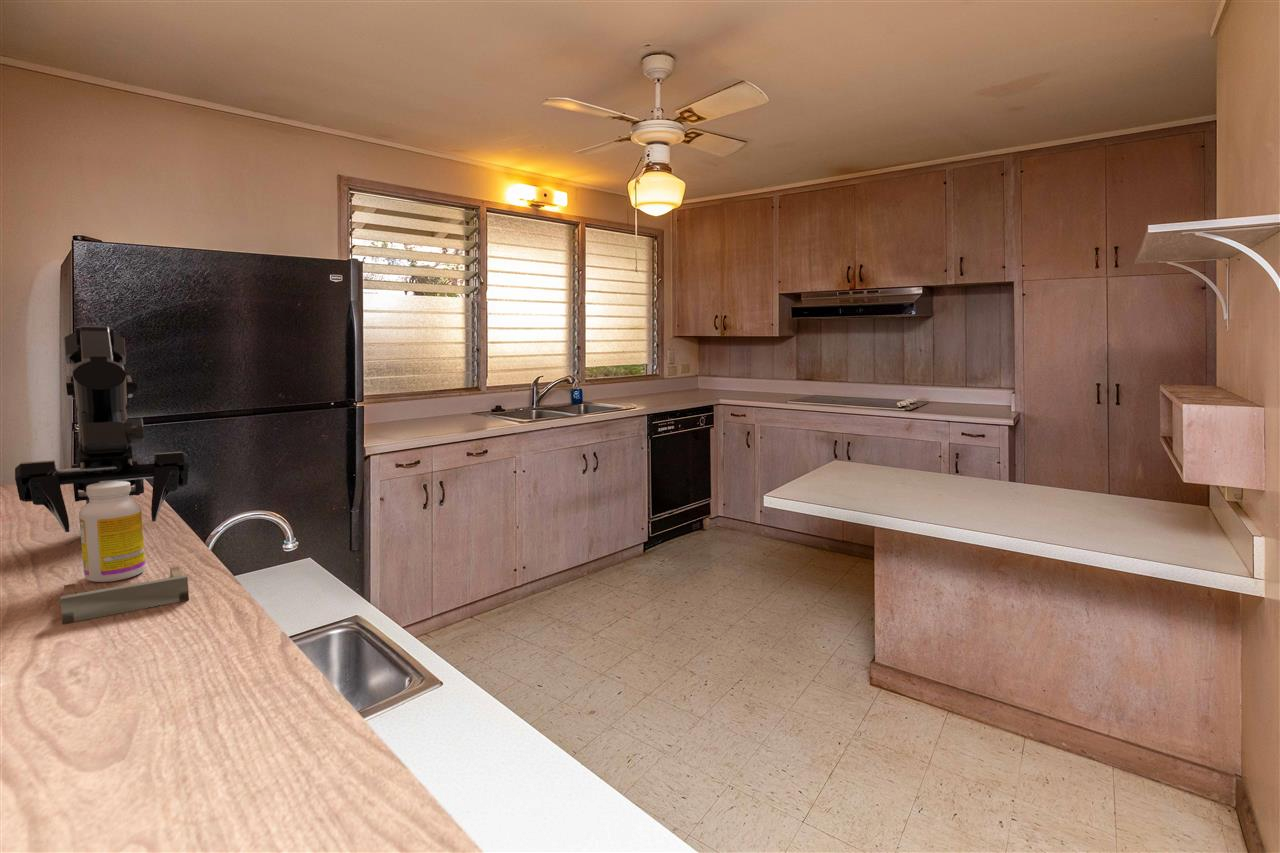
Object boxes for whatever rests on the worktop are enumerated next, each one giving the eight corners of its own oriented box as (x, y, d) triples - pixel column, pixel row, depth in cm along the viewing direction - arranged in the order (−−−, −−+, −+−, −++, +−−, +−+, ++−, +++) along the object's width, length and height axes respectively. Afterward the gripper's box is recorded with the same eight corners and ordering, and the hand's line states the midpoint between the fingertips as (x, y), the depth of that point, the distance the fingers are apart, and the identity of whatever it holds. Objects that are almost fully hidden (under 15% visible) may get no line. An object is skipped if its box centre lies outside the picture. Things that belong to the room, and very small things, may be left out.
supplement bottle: (157, 568, 93) (152, 480, 92) (116, 585, 87) (109, 490, 85) (115, 565, 94) (108, 478, 92) (70, 582, 87) (62, 488, 86)
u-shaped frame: (65, 594, 83) (63, 571, 83) (179, 574, 91) (178, 554, 91) (62, 624, 75) (60, 599, 74) (188, 599, 82) (187, 577, 82)
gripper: (9, 402, 85) (9, 501, 78) (183, 397, 97) (197, 483, 90) (19, 454, 92) (20, 549, 85) (180, 443, 104) (193, 526, 97)
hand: (112, 525), depth 89 cm, fingers open, 9 cm apart
